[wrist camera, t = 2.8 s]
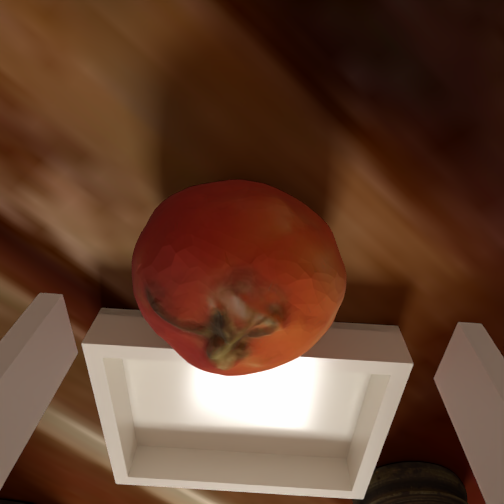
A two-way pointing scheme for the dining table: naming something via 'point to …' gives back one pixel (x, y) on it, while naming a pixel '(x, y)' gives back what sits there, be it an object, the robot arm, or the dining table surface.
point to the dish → (246, 411)
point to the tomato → (237, 276)
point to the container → (414, 485)
